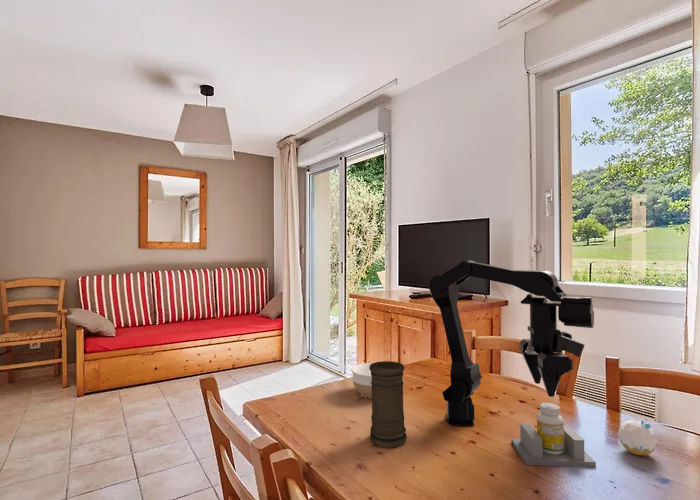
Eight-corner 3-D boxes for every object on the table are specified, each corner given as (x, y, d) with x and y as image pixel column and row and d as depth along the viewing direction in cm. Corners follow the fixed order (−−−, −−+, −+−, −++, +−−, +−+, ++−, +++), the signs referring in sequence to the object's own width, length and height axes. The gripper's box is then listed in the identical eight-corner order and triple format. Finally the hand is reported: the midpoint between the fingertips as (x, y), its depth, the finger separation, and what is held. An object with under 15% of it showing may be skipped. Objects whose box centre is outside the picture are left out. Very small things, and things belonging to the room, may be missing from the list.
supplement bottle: (561, 457, 85) (560, 412, 85) (534, 450, 89) (533, 406, 89) (566, 448, 89) (565, 405, 90) (541, 441, 93) (540, 399, 93)
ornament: (617, 455, 88) (615, 418, 88) (621, 443, 94) (620, 408, 94) (655, 465, 84) (654, 426, 84) (657, 452, 89) (656, 415, 89)
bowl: (369, 382, 142) (368, 360, 142) (409, 390, 132) (409, 366, 133) (341, 395, 129) (341, 370, 129) (384, 405, 119) (384, 379, 120)
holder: (526, 464, 85) (525, 440, 85) (511, 442, 95) (511, 421, 95) (595, 466, 83) (595, 442, 83) (573, 444, 93) (573, 422, 93)
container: (382, 451, 91) (381, 372, 92) (363, 436, 99) (361, 363, 100) (414, 442, 96) (413, 366, 96) (393, 428, 103) (392, 358, 104)
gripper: (598, 332, 85) (599, 405, 85) (563, 318, 103) (564, 378, 103) (543, 331, 86) (544, 403, 86) (518, 317, 105) (519, 377, 105)
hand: (544, 389), depth 95 cm, fingers open, 9 cm apart
